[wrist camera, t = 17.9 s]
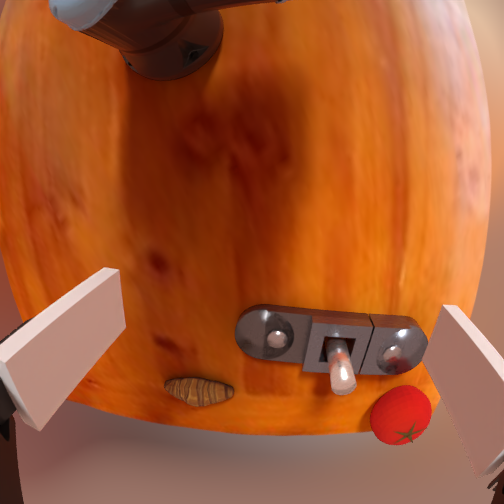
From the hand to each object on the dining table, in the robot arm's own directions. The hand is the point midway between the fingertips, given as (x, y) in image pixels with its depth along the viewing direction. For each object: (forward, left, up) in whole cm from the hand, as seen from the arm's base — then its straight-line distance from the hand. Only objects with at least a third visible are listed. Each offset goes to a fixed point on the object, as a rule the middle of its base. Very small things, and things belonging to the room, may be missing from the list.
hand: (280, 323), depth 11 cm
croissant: (-12, -35, -31) cm, 48 cm away
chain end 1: (+5, -20, -31) cm, 37 cm away
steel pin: (+10, -20, -31) cm, 38 cm away
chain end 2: (+16, -20, -31) cm, 40 cm away
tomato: (+26, -34, -31) cm, 53 cm away
